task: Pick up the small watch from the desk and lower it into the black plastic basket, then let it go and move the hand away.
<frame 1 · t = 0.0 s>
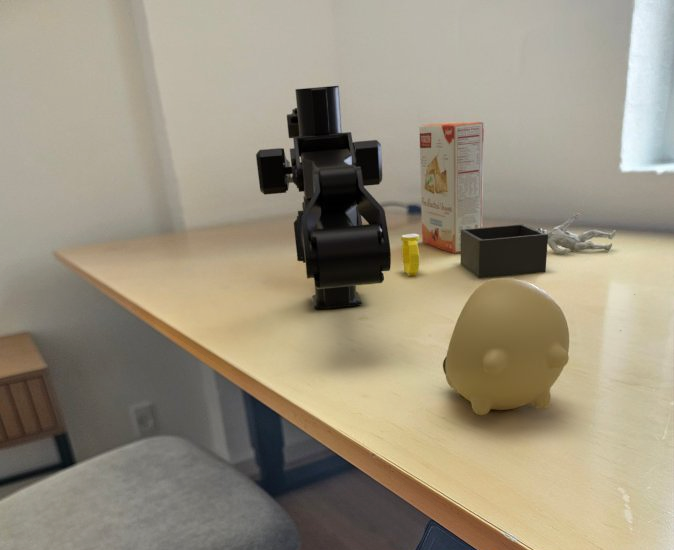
hand: (317, 164, 107), 17 cm above the table, tool horizontal, fingers open, 9 cm apart
basket: (501, 268, 103), on the table
toy pig: (499, 405, 56), on the table
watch: (410, 275, 105), on the table
soldier figure: (574, 252, 111), on the table
cracker box: (450, 247, 123), on the table
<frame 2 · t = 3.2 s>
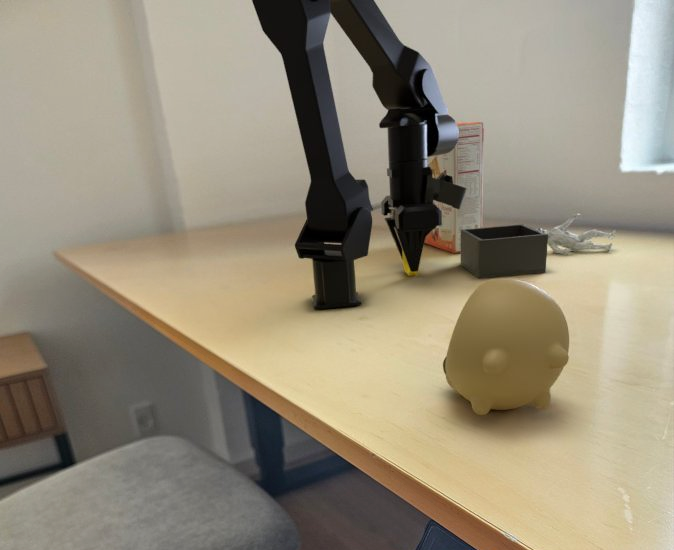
hand: (410, 267, 104), 1 cm above the table, tool pointing down, fingers closed on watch, 6 cm apart
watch: (410, 275, 105), on the table, touching gripper
everything else where it was.
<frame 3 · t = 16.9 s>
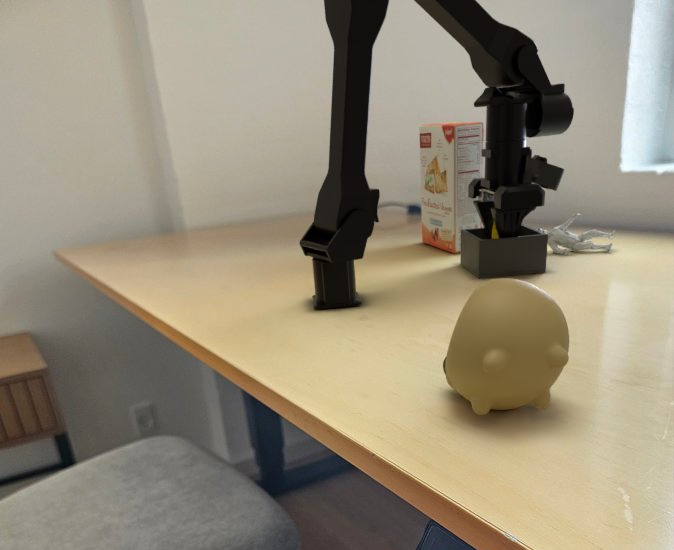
hand: (501, 251, 102), 3 cm above the table, tool pointing down, fingers closed on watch, 6 cm apart
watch: (501, 258, 103), point 1 cm above the table, touching gripper
everything else where it was.
when the fingers open (5 cm above the table, at t = 21.5 s): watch stays where it is, resting on basket.
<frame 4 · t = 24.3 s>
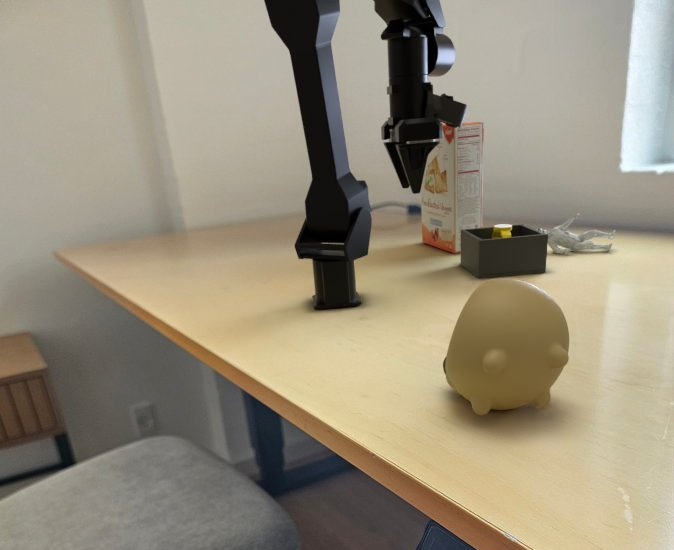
hand: (410, 190, 103), 12 cm above the table, tool pointing down, fingers open, 9 cm apart
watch: (500, 266, 103), resting on basket
everything else where it was.
at the end: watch inside the target area in the basket (0.1 cm from its centre), point 0.3 cm above the basket's base; the gripper is holding nothing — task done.
